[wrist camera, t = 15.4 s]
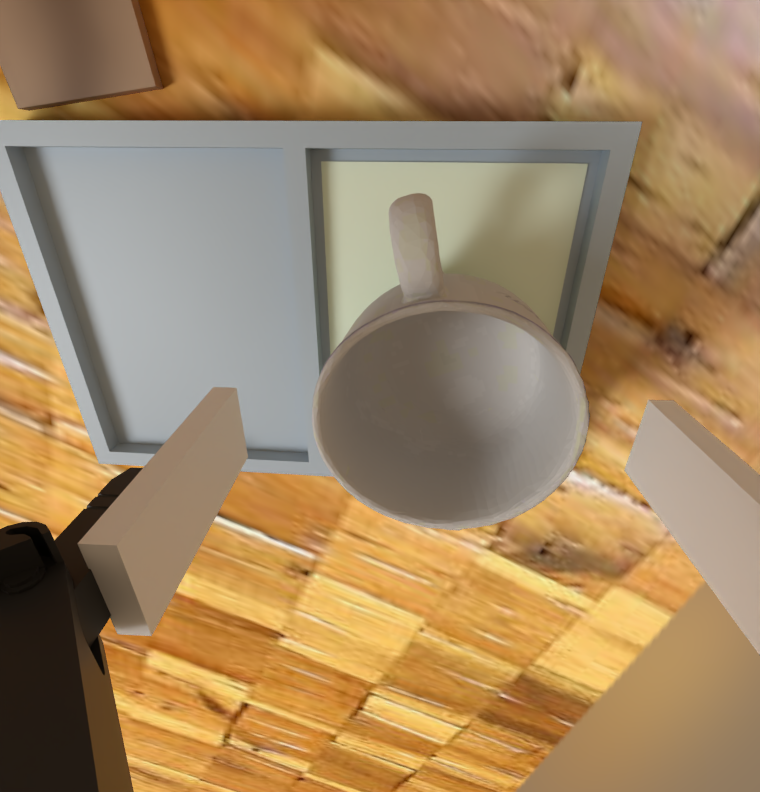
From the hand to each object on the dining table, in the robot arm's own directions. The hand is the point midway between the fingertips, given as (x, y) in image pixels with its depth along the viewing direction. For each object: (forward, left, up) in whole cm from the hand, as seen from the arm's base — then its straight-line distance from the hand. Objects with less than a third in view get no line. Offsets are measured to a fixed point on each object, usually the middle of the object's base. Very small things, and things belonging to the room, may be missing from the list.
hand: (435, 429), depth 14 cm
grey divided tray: (-6, 0, -12) cm, 13 cm away
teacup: (0, 0, -10) cm, 10 cm away
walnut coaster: (-17, +14, -12) cm, 25 cm away
